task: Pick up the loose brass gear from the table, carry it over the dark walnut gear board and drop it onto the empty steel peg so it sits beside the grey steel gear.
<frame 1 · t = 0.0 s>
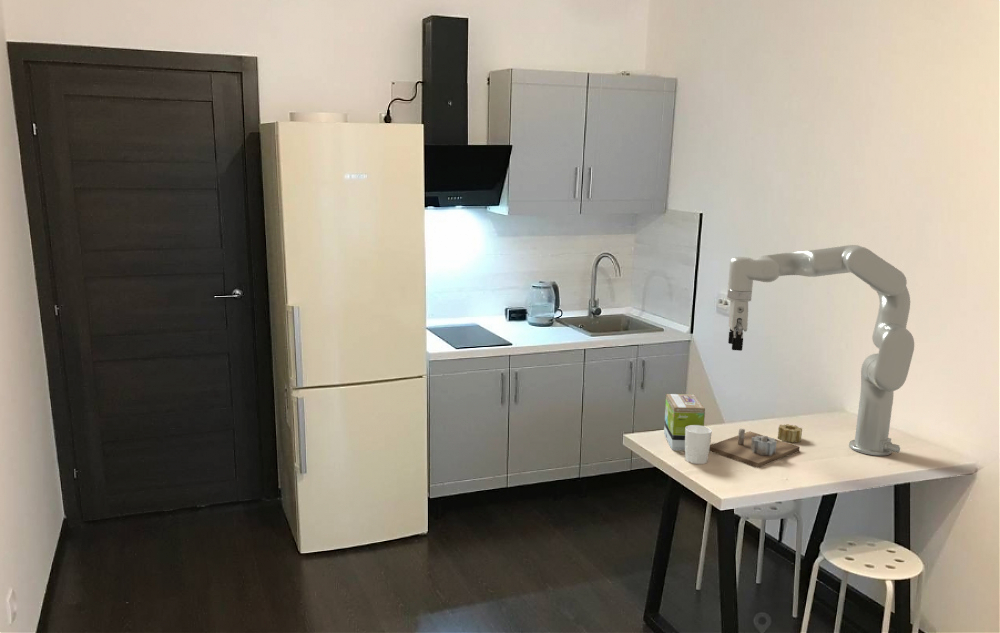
hand: (735, 346, 247), 31 cm above the table, tool pointing down, fingers open, 9 cm apart
tea box: (682, 443, 247), on the table
white cup: (696, 460, 232), on the table
brass gear: (789, 439, 253), on the table
gear board: (753, 450, 241), on the table
grey gear: (763, 445, 236), point 4 cm above the table, hinge at 0.0°
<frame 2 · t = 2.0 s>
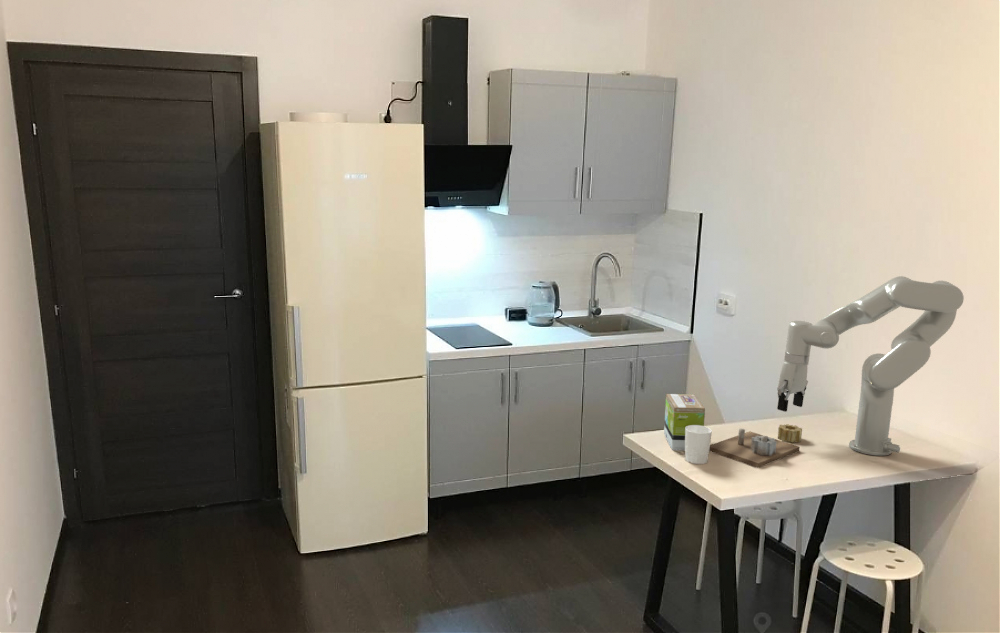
hand: (789, 408, 251), 11 cm above the table, tool pointing down, fingers open, 9 cm apart
nothing on the table moved.
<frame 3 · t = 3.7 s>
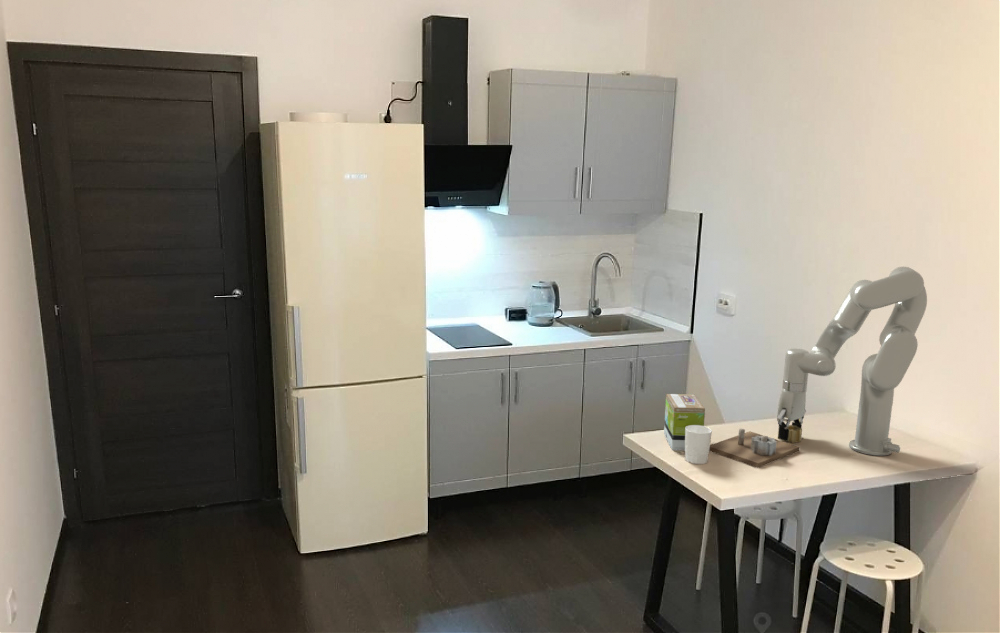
hand: (789, 436, 253), 1 cm above the table, tool pointing down, fingers closed on brass gear, 7 cm apart
brass gear: (789, 439, 253), on the table, touching gripper
everything else where it was.
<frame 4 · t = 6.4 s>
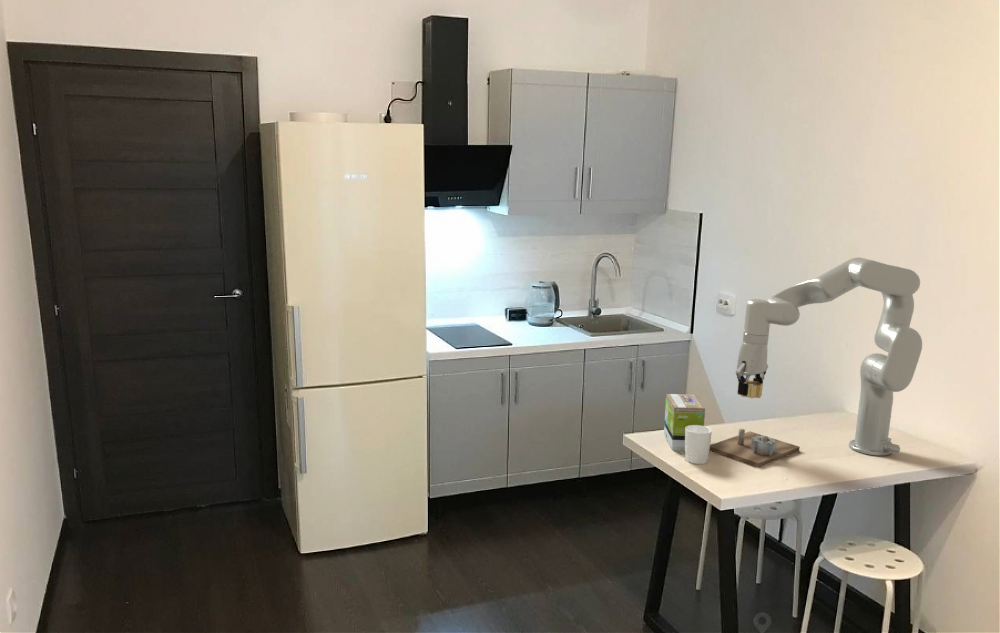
hand: (749, 392, 240), 19 cm above the table, tool pointing down, fingers closed on brass gear, 7 cm apart
brass gear: (749, 394, 240), point 18 cm above the table, touching gripper
everything else where it was.
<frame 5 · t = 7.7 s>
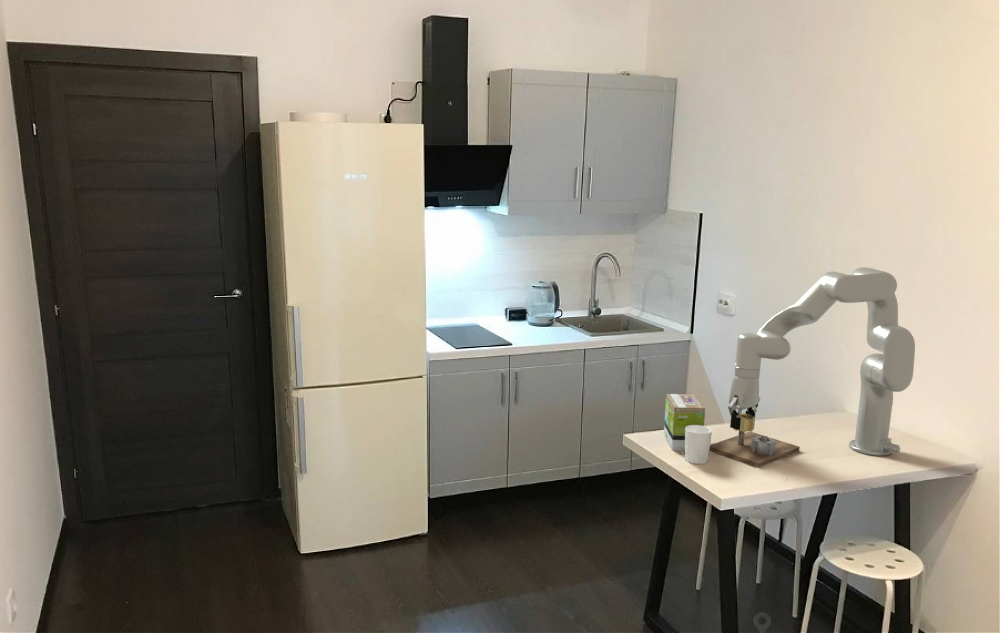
hand: (742, 425, 241), 8 cm above the table, tool pointing down, fingers closed on brass gear, 7 cm apart
brass gear: (741, 428, 241), point 7 cm above the table, touching gripper
everything else where it was.
when the fingers open (4 cm above the table, at t = 9.1 s): brass gear drops 1 cm, resting on gear board.
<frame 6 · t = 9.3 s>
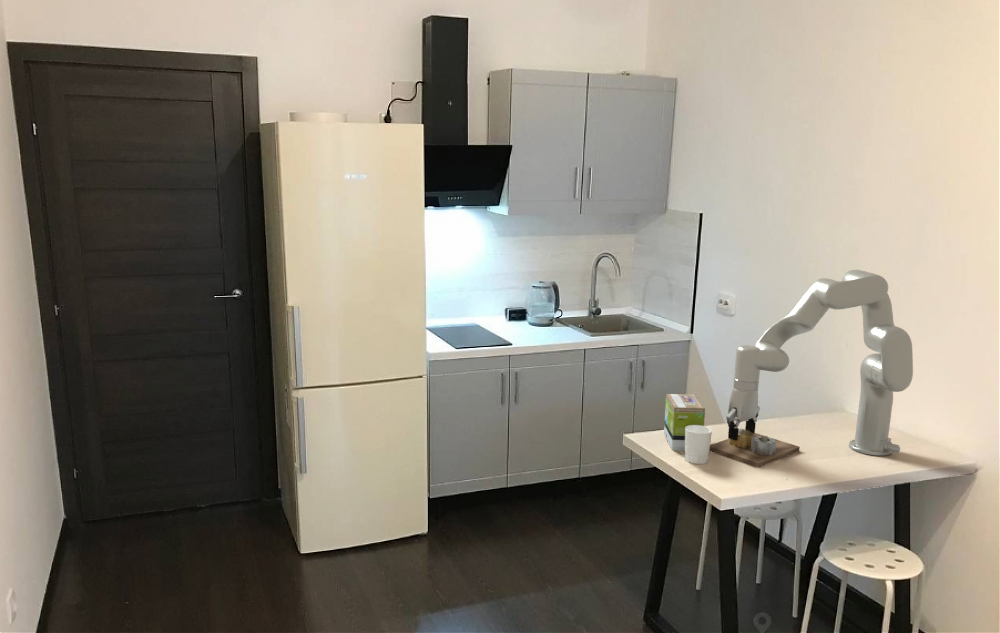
hand: (741, 436, 242), 4 cm above the table, tool pointing down, fingers open, 9 cm apart
brass gear: (740, 444, 242), point 1 cm above the table, touching gear board
everything else where it was.
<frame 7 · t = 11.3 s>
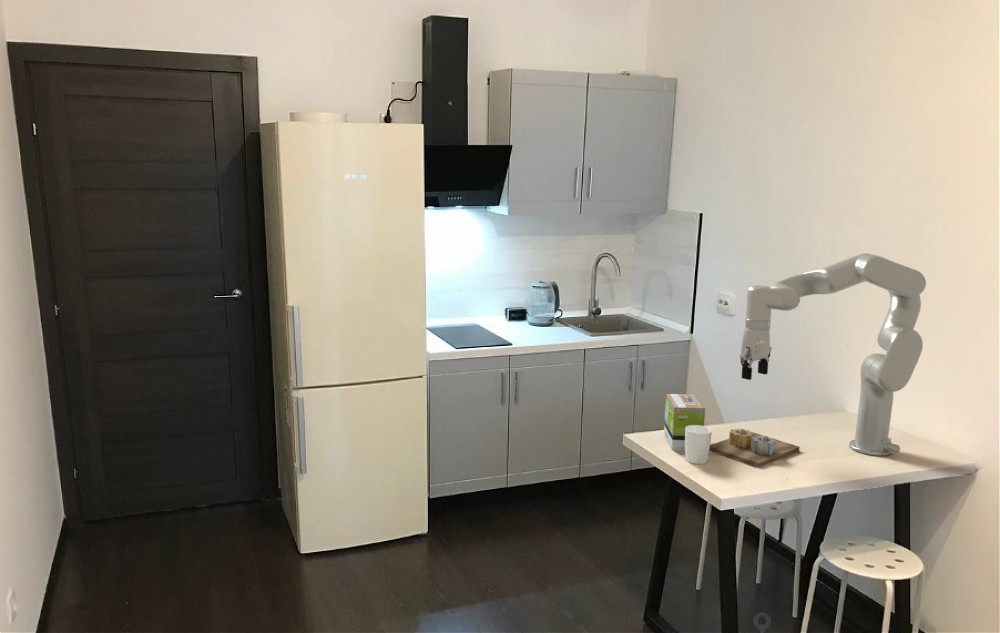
hand: (754, 376, 244), 23 cm above the table, tool pointing down, fingers open, 9 cm apart
nothing on the table moved.
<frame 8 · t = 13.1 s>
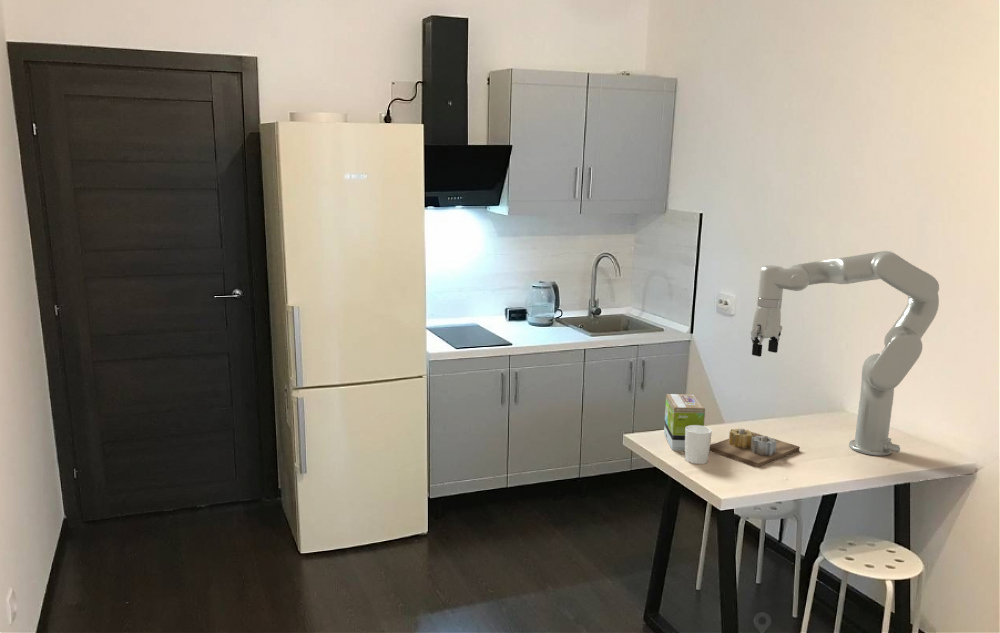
hand: (764, 353, 251), 28 cm above the table, tool pointing down, fingers open, 9 cm apart
nothing on the table moved.
at the end: brass gear 0.1 cm from the target spot, point 1.5 cm above the table; brass gear tilted 0°; the gripper is holding nothing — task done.
